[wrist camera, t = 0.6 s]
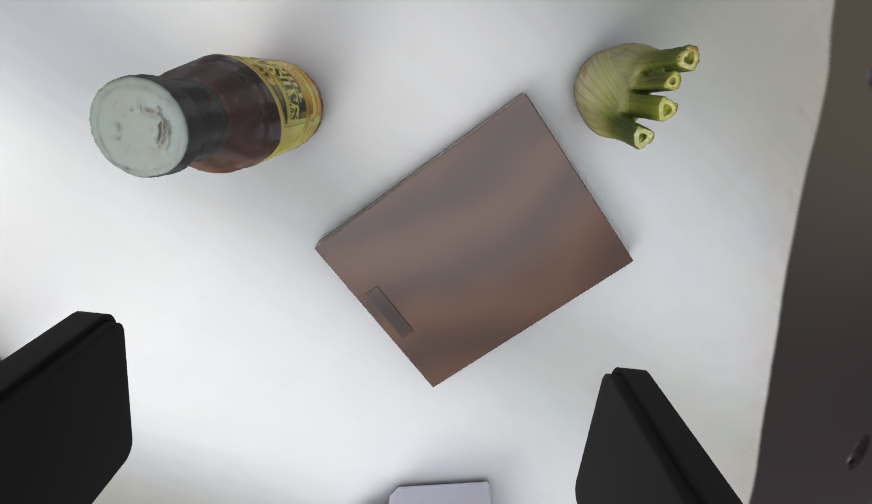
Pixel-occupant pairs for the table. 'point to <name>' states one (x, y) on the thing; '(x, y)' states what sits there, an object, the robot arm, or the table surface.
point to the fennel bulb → (630, 89)
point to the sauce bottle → (205, 116)
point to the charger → (443, 494)
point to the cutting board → (476, 244)
